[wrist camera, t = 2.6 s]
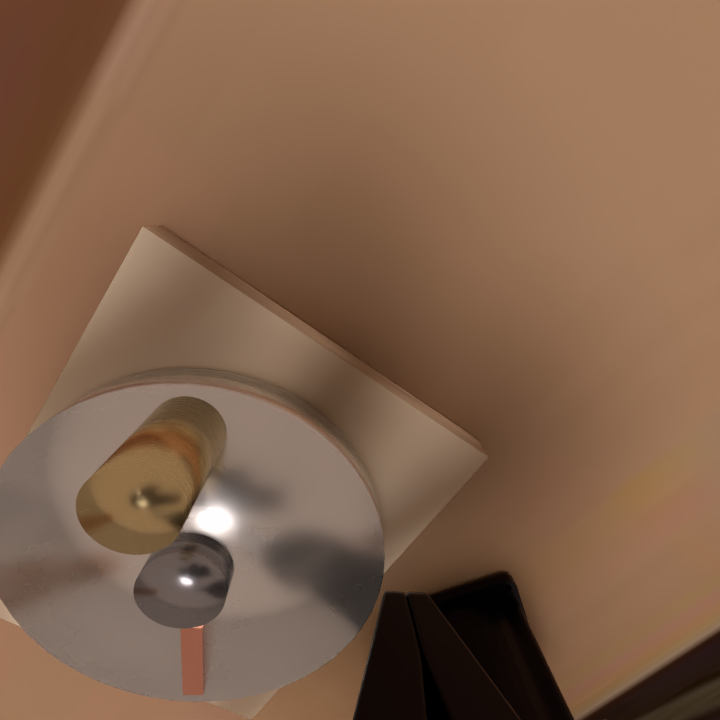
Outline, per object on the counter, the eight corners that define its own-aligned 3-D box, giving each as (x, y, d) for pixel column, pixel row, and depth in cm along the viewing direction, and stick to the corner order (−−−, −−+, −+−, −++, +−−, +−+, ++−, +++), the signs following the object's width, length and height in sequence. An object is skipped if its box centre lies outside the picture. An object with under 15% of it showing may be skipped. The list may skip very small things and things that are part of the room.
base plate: (477, 439, 18) (489, 457, 17) (256, 688, 22) (251, 720, 21) (161, 225, 15) (142, 226, 13) (-32, 565, 19) (-61, 593, 17)
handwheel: (361, 662, 20) (370, 834, 14) (44, 654, 18) (-80, 838, 13) (401, 383, 15) (438, 475, 10) (-8, 351, 14) (-228, 433, 9)
